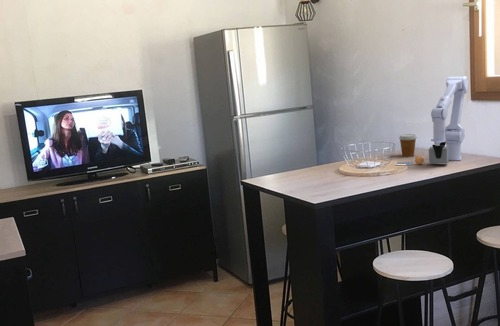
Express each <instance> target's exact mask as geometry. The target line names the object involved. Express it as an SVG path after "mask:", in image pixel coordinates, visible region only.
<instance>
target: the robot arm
mask: <svg viewBox="0 0 500 326" xmlns="http://www.w3.org/2000/svg"><path fill="white" fill-rule="evenodd" d="M469 83H470V81H469V78H468V77H467V75H466V76H448V77H447V78H446V80H445V85H446V89H445V91H444V94H443V96H441V97H440V98H439V99H438V102H437V104H436V106H435V107H434V108H432V110H431V111H430V112H431V113H430V117H431V120H432V121H431V122H432V123H433V124H432V125H433V127H432V128H433V130H432V131H433V136H432V137H433V138H432V139H430V141H431V142H434V144H432V145H431V147H433V148H434V151H435V155H436V158H438V159H440V158H441V155H442V149H443V147H448V160H449V161H462V158H463V155H461V154H462V153H461V152H462V151H461V149H462V147H461V146H462V143H463V142H464V140H465V137H466V136H465V128H464V127H463V126H461V120H462V119H461V117H462V113H463V112H462V111H463V103H464V97H465V94H467V93H468V90H469ZM452 97H453V100H451V99H452ZM451 104H452V106H451V107H452V108H451V114H450V121H449V124H448V125H446V119H447V117H448V113H449V107H450V105H451Z"/></svg>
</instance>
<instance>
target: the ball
mask: <svg viewBox="0 0 500 326" xmlns="http://www.w3.org/2000/svg"><path fill="white" fill-rule="evenodd" d="M414 159H415V160H414V161H415V164H417V165H423V163H424V162H425V160H424V157H423V156H421V155H418V156H416V157H415V158H414Z"/></svg>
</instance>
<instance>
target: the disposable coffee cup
mask: <svg viewBox="0 0 500 326" xmlns="http://www.w3.org/2000/svg"><path fill="white" fill-rule="evenodd" d="M398 138H399V141H400V149H401V155H402V156H401V157H403V158H412V157H414V156H415V149H416V139H417V135H416V134H413V133H409V134H408V133H407V134H406V133H404V134H400V135H399V137H398Z"/></svg>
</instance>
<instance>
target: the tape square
mask: <svg viewBox="0 0 500 326" xmlns="http://www.w3.org/2000/svg"><path fill="white" fill-rule="evenodd" d="M395 164H406V165H407V166H406V167H408V166H409V167H411V166H412V165H413V164H414V162H412V161H410V162H408V161H397V162H396V163H395Z"/></svg>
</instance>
